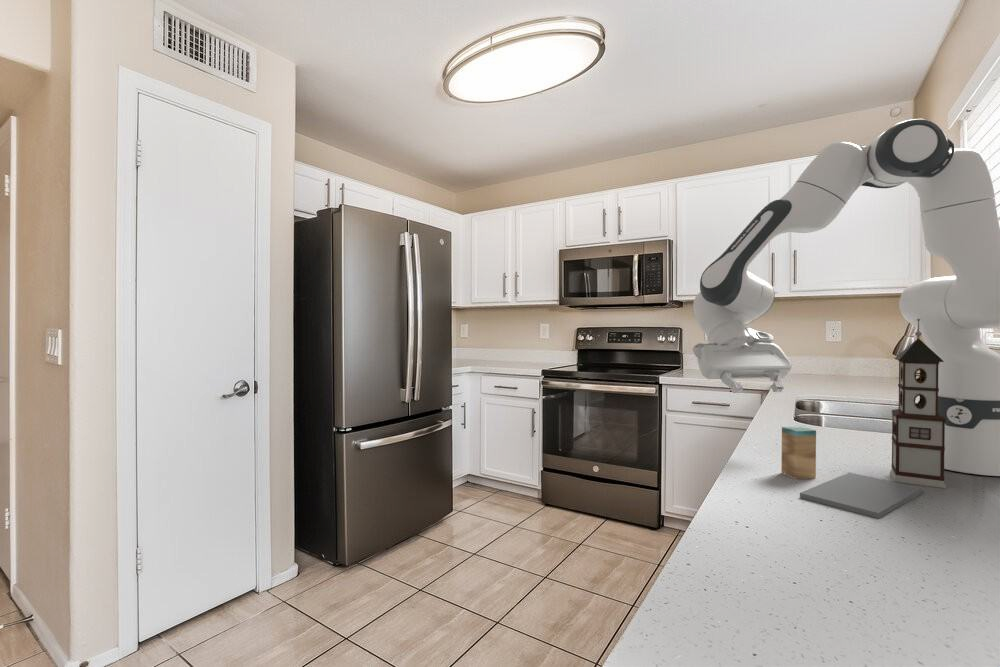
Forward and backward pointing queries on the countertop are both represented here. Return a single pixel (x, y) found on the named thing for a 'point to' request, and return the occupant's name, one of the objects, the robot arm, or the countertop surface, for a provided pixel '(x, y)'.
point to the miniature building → (918, 419)
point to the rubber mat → (862, 494)
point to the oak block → (799, 452)
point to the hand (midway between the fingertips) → (759, 391)
